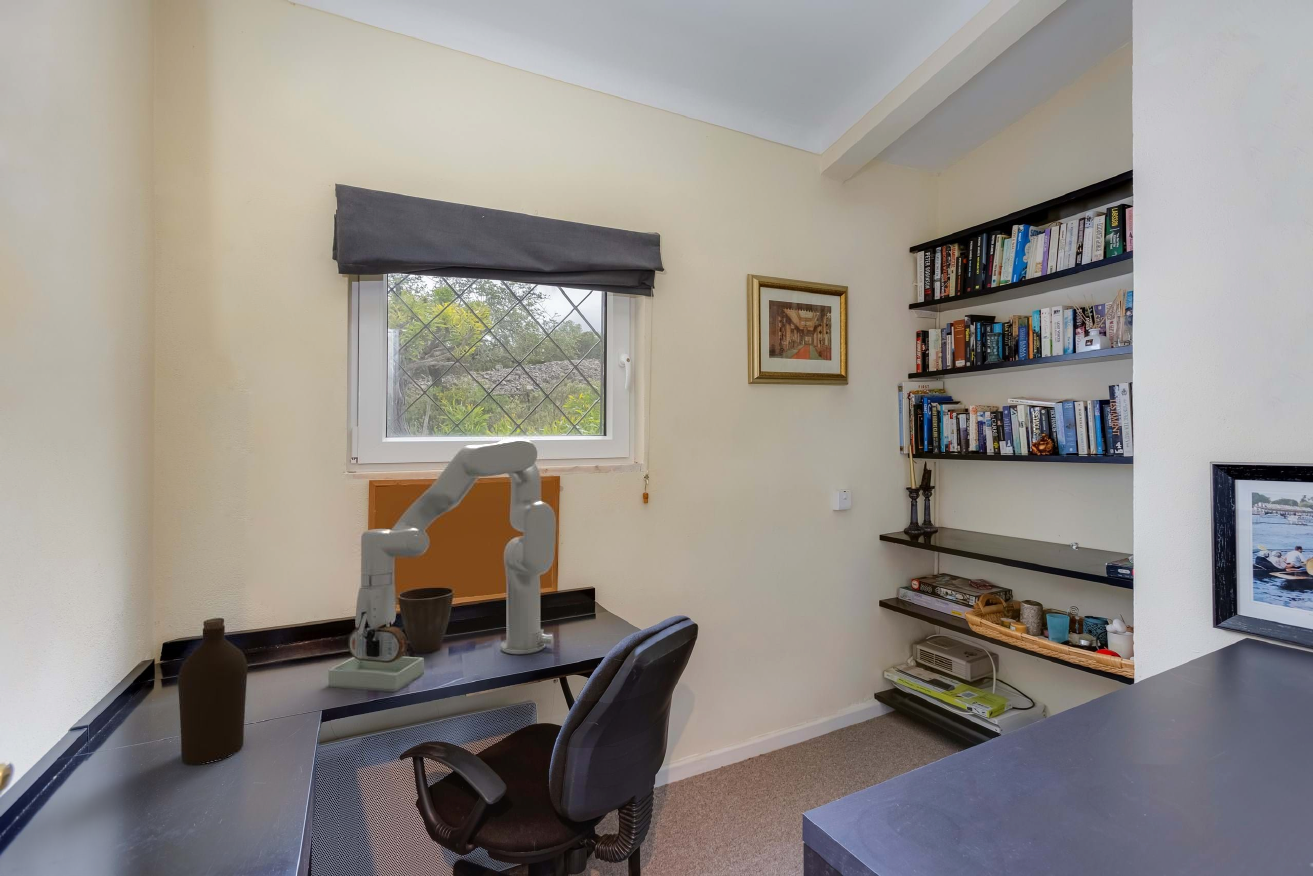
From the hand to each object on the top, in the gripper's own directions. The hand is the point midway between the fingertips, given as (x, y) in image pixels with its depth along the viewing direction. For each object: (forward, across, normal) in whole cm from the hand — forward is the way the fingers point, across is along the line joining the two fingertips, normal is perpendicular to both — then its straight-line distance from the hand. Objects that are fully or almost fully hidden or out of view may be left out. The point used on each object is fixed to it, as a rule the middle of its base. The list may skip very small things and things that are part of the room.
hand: (377, 653), depth 148 cm
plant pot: (+7, -23, -1) cm, 24 cm away
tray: (+7, 0, 0) cm, 7 cm away
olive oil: (+7, +37, -8) cm, 38 cm away
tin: (+2, 0, 0) cm, 2 cm away
